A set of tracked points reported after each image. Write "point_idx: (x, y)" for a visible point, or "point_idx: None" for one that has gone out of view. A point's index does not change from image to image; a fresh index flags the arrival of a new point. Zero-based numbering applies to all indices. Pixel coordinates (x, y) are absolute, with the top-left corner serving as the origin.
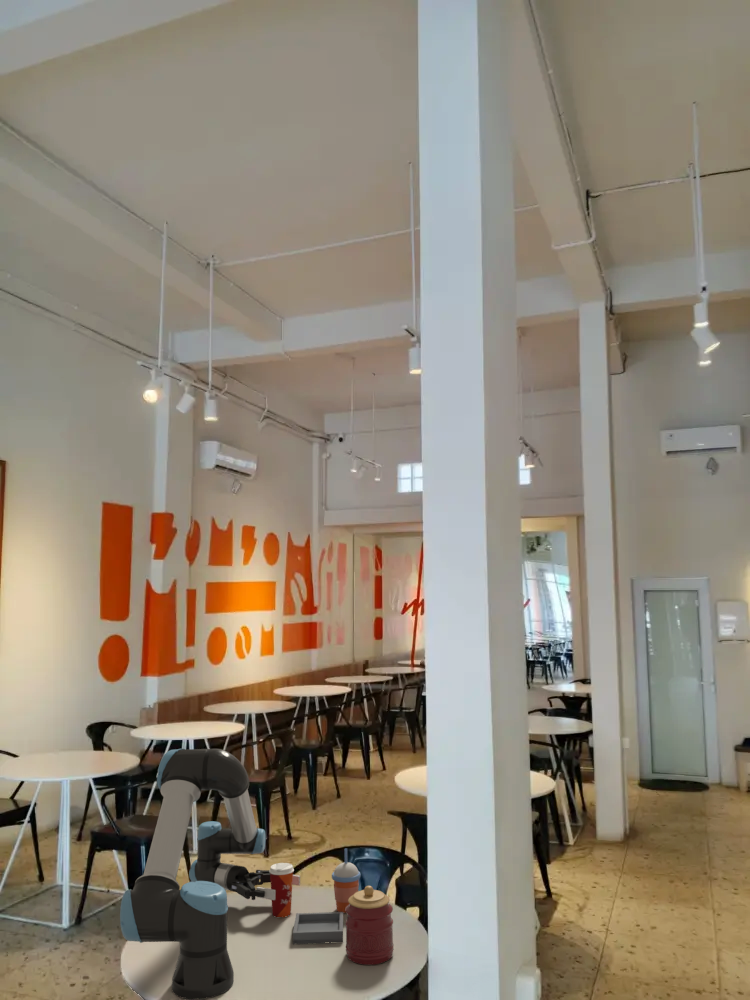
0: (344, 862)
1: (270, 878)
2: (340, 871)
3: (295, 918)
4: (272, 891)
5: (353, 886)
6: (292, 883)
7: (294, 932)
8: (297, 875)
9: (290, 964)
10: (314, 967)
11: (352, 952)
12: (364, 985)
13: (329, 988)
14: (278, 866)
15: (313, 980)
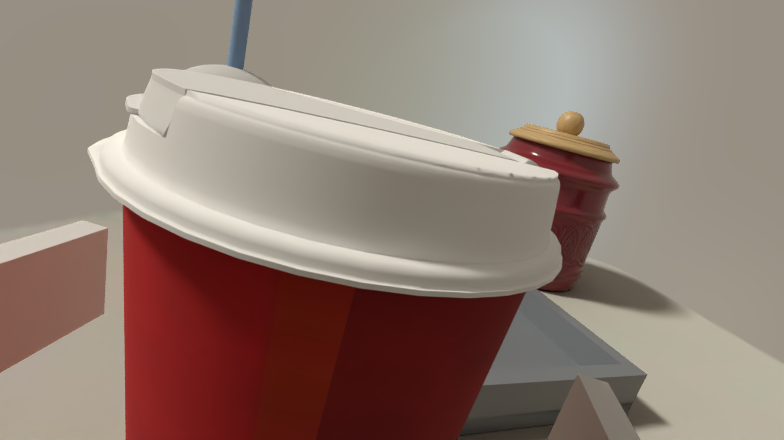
0: (219, 65)
1: (428, 408)
2: None
3: (511, 382)
4: (611, 408)
5: None
6: (15, 352)
7: (639, 370)
8: (48, 231)
9: (734, 399)
10: (670, 344)
11: (583, 266)
12: (627, 280)
13: (700, 319)
14: (389, 128)
15: (716, 343)
